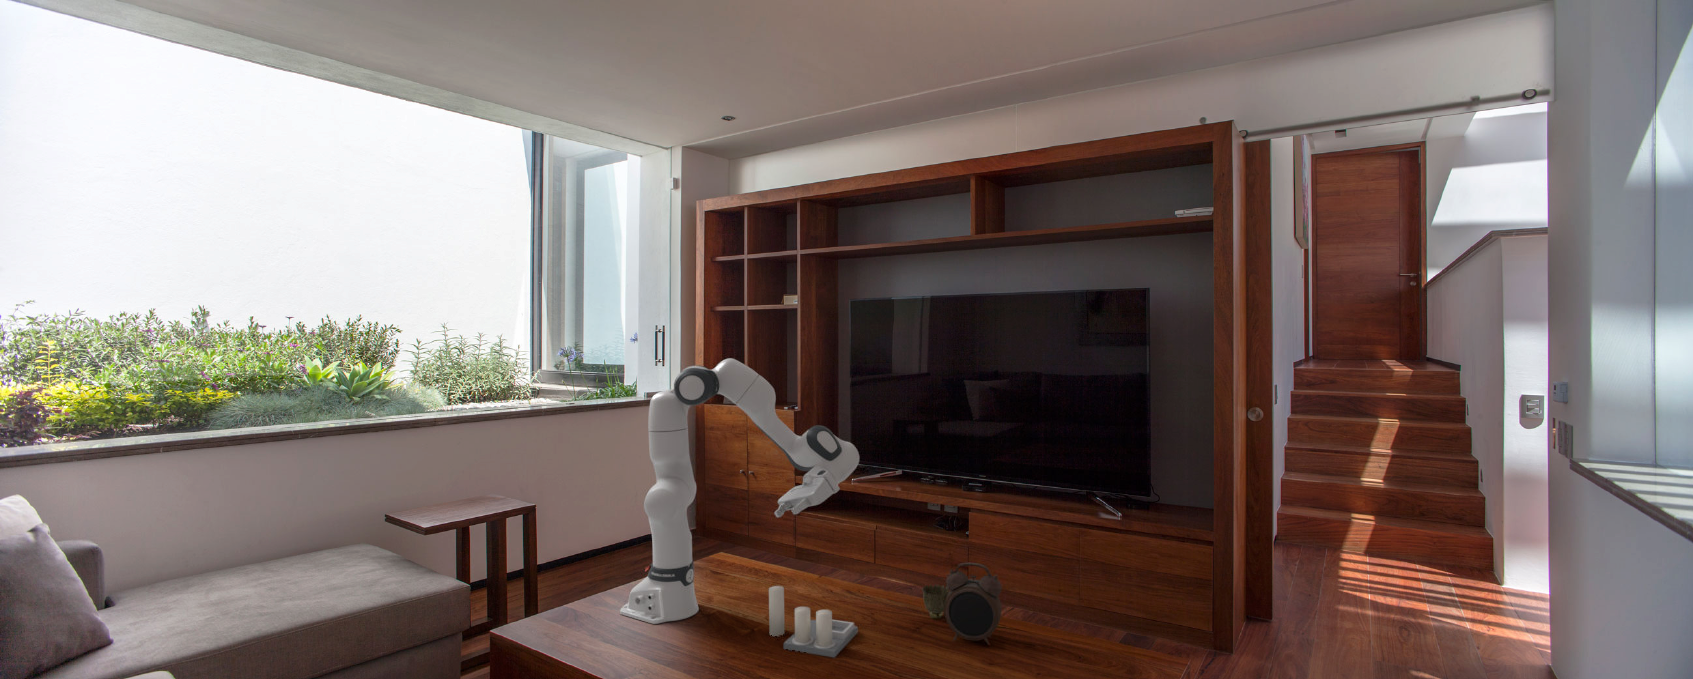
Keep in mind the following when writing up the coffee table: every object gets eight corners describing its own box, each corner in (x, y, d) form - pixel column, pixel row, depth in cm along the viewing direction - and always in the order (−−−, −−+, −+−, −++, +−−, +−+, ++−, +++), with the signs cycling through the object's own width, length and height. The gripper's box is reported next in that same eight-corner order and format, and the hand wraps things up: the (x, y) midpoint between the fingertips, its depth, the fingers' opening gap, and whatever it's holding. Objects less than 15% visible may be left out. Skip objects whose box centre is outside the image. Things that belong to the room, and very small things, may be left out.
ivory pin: (766, 635, 193) (766, 590, 193) (773, 629, 197) (773, 585, 196) (780, 637, 191) (779, 592, 191) (787, 631, 195) (786, 587, 195)
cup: (948, 623, 199) (948, 594, 199) (921, 621, 200) (921, 592, 200) (950, 612, 206) (949, 584, 206) (924, 611, 208) (923, 583, 208)
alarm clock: (942, 643, 186) (941, 565, 186) (948, 632, 193) (947, 557, 193) (1000, 650, 182) (999, 571, 181) (1003, 639, 188) (1002, 562, 188)
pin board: (783, 649, 184) (783, 611, 184) (810, 625, 199) (809, 590, 199) (834, 657, 179) (833, 619, 179) (857, 632, 194) (857, 596, 194)
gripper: (793, 479, 216) (761, 508, 208) (830, 470, 200) (797, 501, 192) (805, 496, 217) (773, 526, 208) (843, 488, 201) (810, 520, 192)
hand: (784, 513), depth 200 cm, fingers open, 8 cm apart
